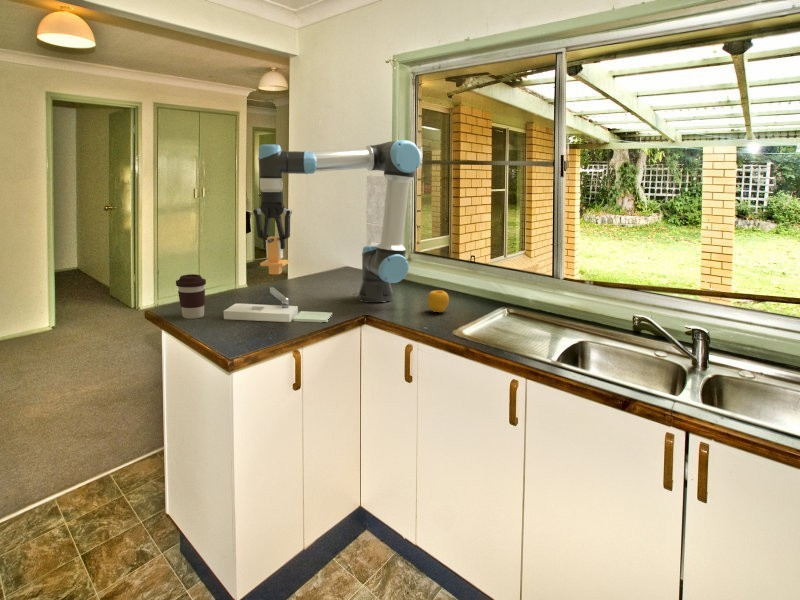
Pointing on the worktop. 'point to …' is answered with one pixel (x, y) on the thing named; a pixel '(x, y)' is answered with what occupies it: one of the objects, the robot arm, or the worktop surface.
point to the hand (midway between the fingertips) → (274, 257)
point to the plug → (273, 257)
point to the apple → (438, 301)
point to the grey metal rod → (279, 296)
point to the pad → (312, 316)
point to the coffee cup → (191, 295)
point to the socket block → (261, 312)
